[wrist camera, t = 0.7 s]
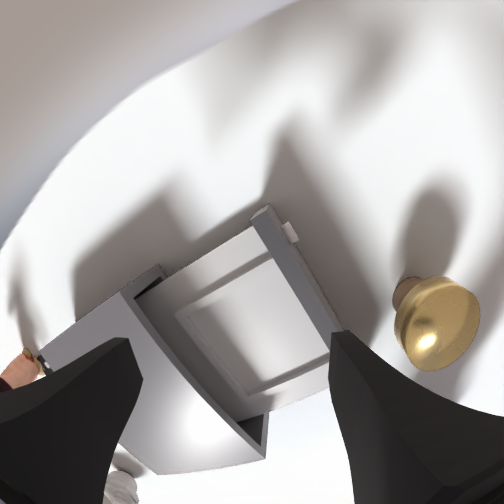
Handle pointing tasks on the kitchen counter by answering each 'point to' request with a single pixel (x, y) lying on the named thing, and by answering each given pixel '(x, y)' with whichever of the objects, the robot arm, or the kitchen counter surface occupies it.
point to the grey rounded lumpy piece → (121, 488)
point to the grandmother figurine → (20, 372)
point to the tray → (248, 320)
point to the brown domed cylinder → (404, 290)
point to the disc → (436, 323)
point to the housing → (162, 392)
